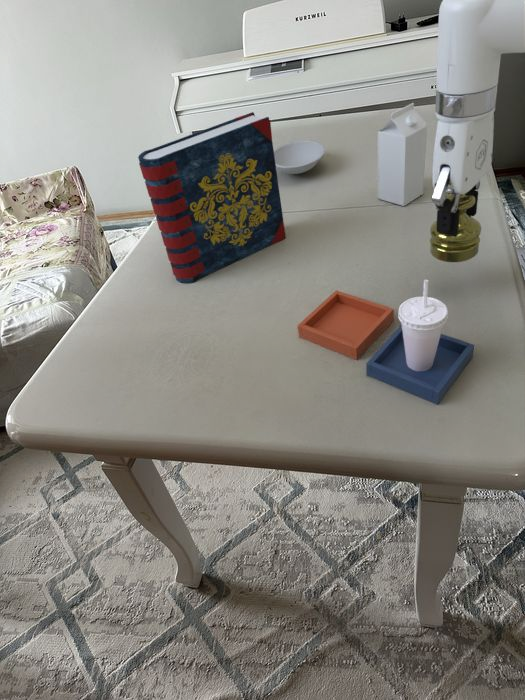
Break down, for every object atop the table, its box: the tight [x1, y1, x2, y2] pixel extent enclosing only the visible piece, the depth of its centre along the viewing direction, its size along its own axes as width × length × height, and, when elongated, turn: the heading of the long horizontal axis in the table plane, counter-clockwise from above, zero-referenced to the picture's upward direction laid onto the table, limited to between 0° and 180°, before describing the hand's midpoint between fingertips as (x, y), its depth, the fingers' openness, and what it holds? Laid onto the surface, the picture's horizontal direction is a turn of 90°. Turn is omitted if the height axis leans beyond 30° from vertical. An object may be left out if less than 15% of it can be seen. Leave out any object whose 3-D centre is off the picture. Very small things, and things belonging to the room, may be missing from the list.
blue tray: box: [365, 324, 475, 405], centre depth 75 cm, size 11×11×2 cm
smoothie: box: [397, 279, 449, 371], centre depth 71 cm, size 6×6×14 cm
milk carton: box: [377, 102, 428, 207], centre depth 110 cm, size 7×7×19 cm
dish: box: [273, 139, 326, 175], centre depth 134 cm, size 18×14×5 cm
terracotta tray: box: [297, 289, 395, 361], centre depth 84 cm, size 11×11×2 cm
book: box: [137, 111, 287, 284], centre depth 100 cm, size 25×7×25 cm, turn 123°
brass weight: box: [429, 193, 482, 263], centre depth 80 cm, size 7×7×10 cm
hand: (456, 222), depth 80 cm, fingers closed on brass weight, 5 cm apart
